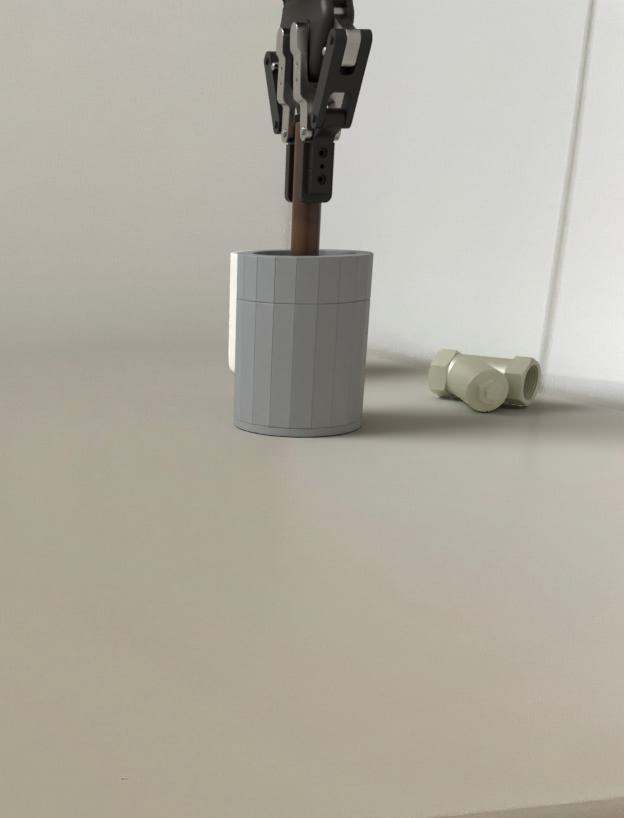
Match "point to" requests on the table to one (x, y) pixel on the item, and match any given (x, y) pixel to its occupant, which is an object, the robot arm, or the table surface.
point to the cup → (301, 341)
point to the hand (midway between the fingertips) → (307, 201)
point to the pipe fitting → (484, 379)
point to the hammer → (303, 214)
